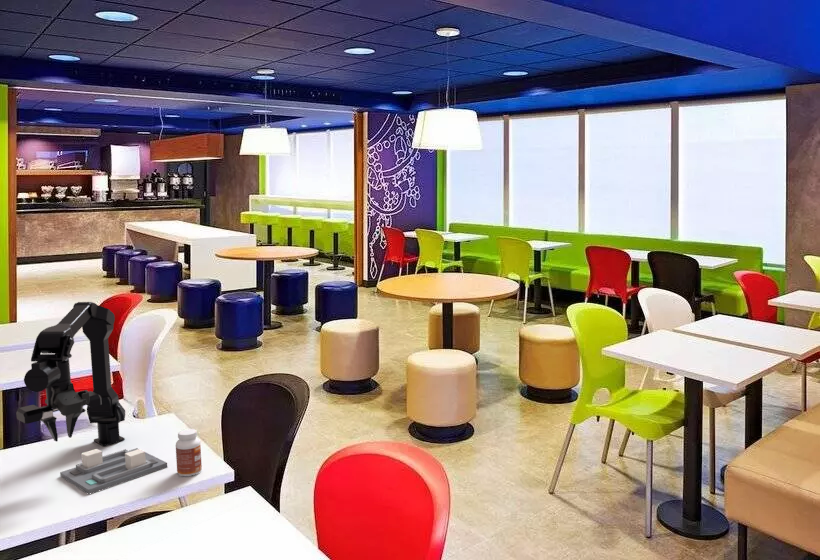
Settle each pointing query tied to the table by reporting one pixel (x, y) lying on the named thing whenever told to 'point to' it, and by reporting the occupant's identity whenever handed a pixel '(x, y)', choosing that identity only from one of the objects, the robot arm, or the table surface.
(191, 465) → the pill bottle
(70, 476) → the switch board
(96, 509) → the table surface
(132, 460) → the tab
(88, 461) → the tab
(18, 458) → the table surface
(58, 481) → the table surface
